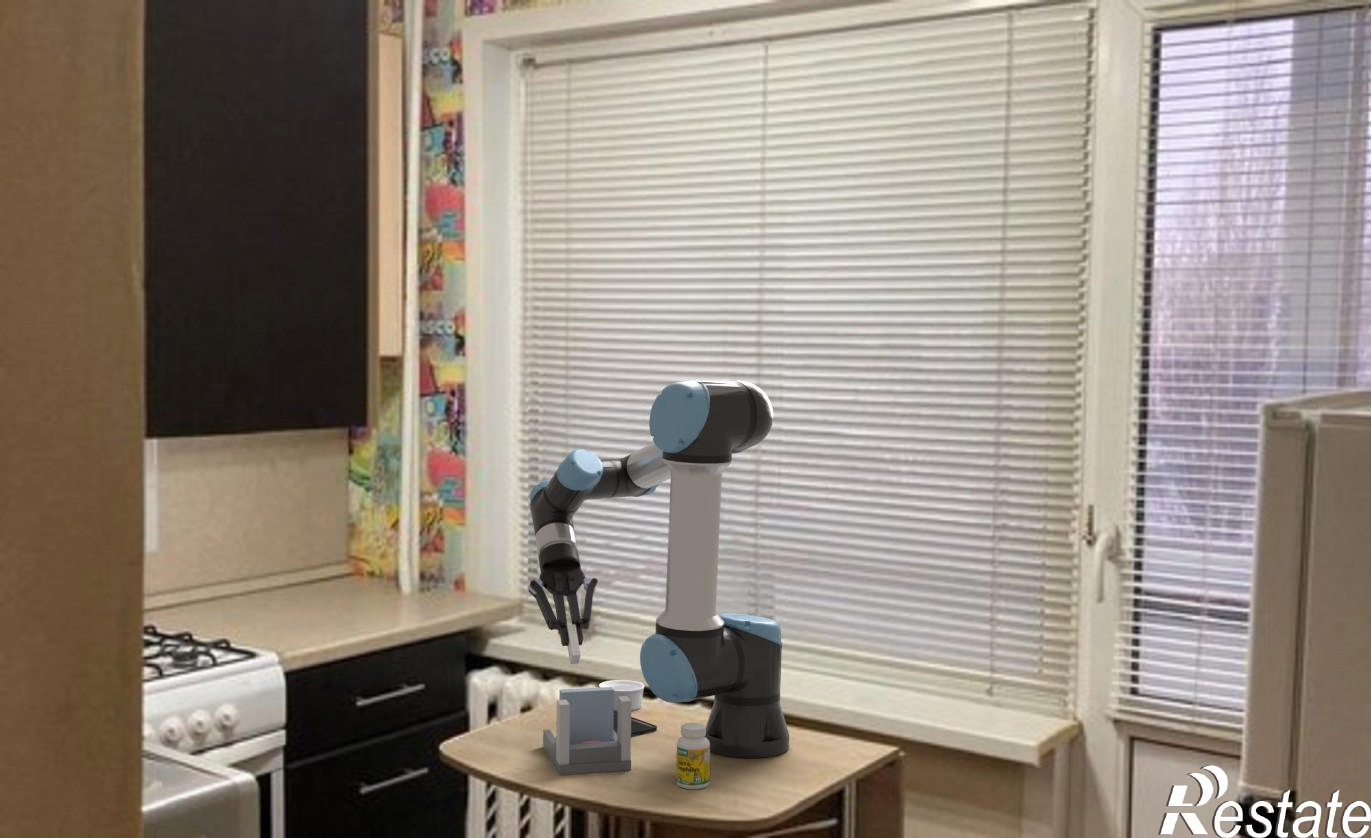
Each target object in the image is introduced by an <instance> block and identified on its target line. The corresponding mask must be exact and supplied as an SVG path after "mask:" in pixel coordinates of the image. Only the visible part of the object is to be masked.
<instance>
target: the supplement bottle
mask: <svg viewBox="0 0 1371 838" xmlns="http://www.w3.org/2000/svg"><path fill="white" fill-rule="evenodd" d="M705 734H706V725H705V724H702V723H698V722H688V723H684V724H681V726H680V735H681V737H679V738H678V739H677V741H676V775H675V776H676V785H677V786H678V787H680V788H682V789H686V790H702V789H705V788H707V787H708V786H709V785H710V779H711V776H710V774H711V770H710V769H711V768H710V767H711V765H710V764H711V763H710V762H711V756H710V755H711V754H710V753H711V751H710V742H709V740H708V739H707V738H706V737H704V736H705Z"/></svg>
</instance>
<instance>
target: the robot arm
mask: <svg viewBox="0 0 1371 838" xmlns="http://www.w3.org/2000/svg"><path fill="white" fill-rule="evenodd" d="M772 406H773V405H772V403H771V401H770V399H769V397H768V395H767V394H766V393H765V392H764V391H763V390H762V389H761V388H760V387H759V386H757V385H755V384H754V383H750V382H747V381H744V380H696V379H693V380H687V381H677V382H673V383H670V384H668V385H667V386H665V387H664V388H662V390H661V392H660V393H659V394H657V396H656V397H655V399H654V400H653V404H652V406H651V409H650V412H649V419H648V420H649V421H648V422H649V423H648V424H649V425H648V427H649V433H650V434H649V435H650V436H651V437H653V438H652V443H649V444H648V445H645V446H644V447H642V448H640V449H637V450H636V451H634V452H632V453H631V454H628V455H626V456H623V457H619V458H607V459H605V458H604V459H601V458H599V457H598V456H597V455H596V454H595V453H593V451H587V450H586V449H583V448H580V449H575V450H572V451H570V452H569V453H568V454H567V456H566V457H565V458H564V459H563V460H562V462H560V464H559V465H558V467H557V469H556V471H555V473H554V474H553V476H552V477H551V478H550V479H546V480H542V481H540V483H538V484H535V485H534V486H533V487H532V489H531V490H530V493H529V500H530V501H529V502H530V503H529V505H530V507H529V510H530V513H531V519H532V524H533V531H534V536H535V541H536V542H535V543H536V544H535V545H536V550H537V555H538V564H539V570H540V574H539V578H538V579H537V580H531V581H530V583H529V586H528V592H529V594H530V595H532V596H533V597H534V598H535V600H536V601H535V602H536V603H537V605H538V607H539V610H540V612H541V614H542V618H543V619H544V621H545V623H546V626H547V628H548V629H549V630H550V631H553V630H556V631H557V633H558V634H559V638H560V642H561V646H562V647H567V652H568V658H569V664H570V665H574V664H575V665H577V664H579V662H580V659H581V650H580V649H581V648H580V646H582V645H583V641H584V633H583V629H589V627H590V623H591V622H590V621H591V616H592V608H593V599H594V598H593V597H594V593H595V592H596V589H597V586H598V581H599V580H598V579H597V578H595V577H593V578H589V577H587V576H586V574H585V572H584V571H583V570H582V566H581V560H580V554H579V549H578V544H577V537H576V532H575V527H574V521H573V517H574V515H575V514H576V513H577V512H578V510H579V509H580V508H581V506H582V504H583V503H584V502H585V501H587V500H599V499H600V500H602V499H604V500H605V499H612V498H614V499H615V498H616V499H617V498H639V497H644V496H648V495H651V494H653V493H654V492H656V489H657V487H658V486H659V485H660V484H661V483H664V482H666V481H667V480H670V483H669V484H670V487H669V490H670V491H669V492H670V493H669V511H668V512H669V513H668V514H669V515H668V534H667V535H668V537H667V538H668V539H667V560H666V561H667V562H666V586H665V608H664V610H663V611H662V612H661V613H660V614H659V615H657V617H656V618H655V632H654V634H652V635H650V636H648V637H647V638H646V639H645V640H644V643H642V644H641V647H640V652H639V664H640V670H641V673H642V676H643V679H644V681H645V683H646V685H648V687H649V690H650V691H651V692H652V693H653V694H654V696H656V697H657V698H659V699H660V700H662V701H664V702H666V703H681V702H685V703H688V702H693V701H694V700H699V699H704V698H707V697H712V696H714V701H713V705H712V708H711V711H710V713H709V717H708V720H707V722H706V725H705V726H706V734H705V736H704V737H706V738H707V739H708V740H709V742H710V752H712V753H714V754H717V755H722V756H727V757H733V758H745V759H747V758H749V759H753V758H755V759H757V758H768V757H773V756H778V755H781V754H783V753H785V752H787V751H788V750H789V748H790V732H789V729H788V726H787V723H786V720H785V719H786V718H785V716H784V713H783V709H782V706H781V680H782V675H781V674H782V654H783V653H782V650H783V642H782V627H781V626H780V624H779V623H778V622H777V621H776V620H773V619H771V618H768V617H762V616H757V615H751V614H750V615H749V614H742V613H732V612H731V613H730V612H729V613H728V612H727V613H726V612H725V613H719V614H718V613H717V595H718V594H717V588H718V569H719V568H718V567H719V545H720V527H721V526H720V525H721V524H720V523H721V503H722V502H721V499H722V482H723V481H722V480H723V479H722V478H723V477H722V476H723V472H724V471H725V469H727V468H728V467H729V466H730V465H731V464H732V456H733V455H735V454H738V453H742V452H744V451H745V450H747V449H750V448H753V447H755V446H756V445H758V444H760V443H762V442H763V441H764V439H766V437H767V436H768V434H769V433H770V431H771V428H772V426H773V421H774V411H773V407H772ZM582 585H583V589H584V591H585V592H586V593H585V595H584V596H585V597H584V604H583V611H582V612H583V614H582V618H581V613H580V612H581V611H580V607H579V601H578V596H577V592H578V591H579V589H580V588H581V587H582ZM544 589H545V590H547V591H548V592H549V593H550V594H551V596H552V598H553V603H554V608H555V609H554V610H555V612H554V610H553V608H552V605H551V604H550V602H549V601H550V600H549V599H548V597H547V594H546V593H545V590H544ZM564 597H566V601H567V603H568V608H569V613H570V615H569V616H570V620H571V624H568V620H567V614H566V613H567V612H566V607H565V602H564Z"/></svg>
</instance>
